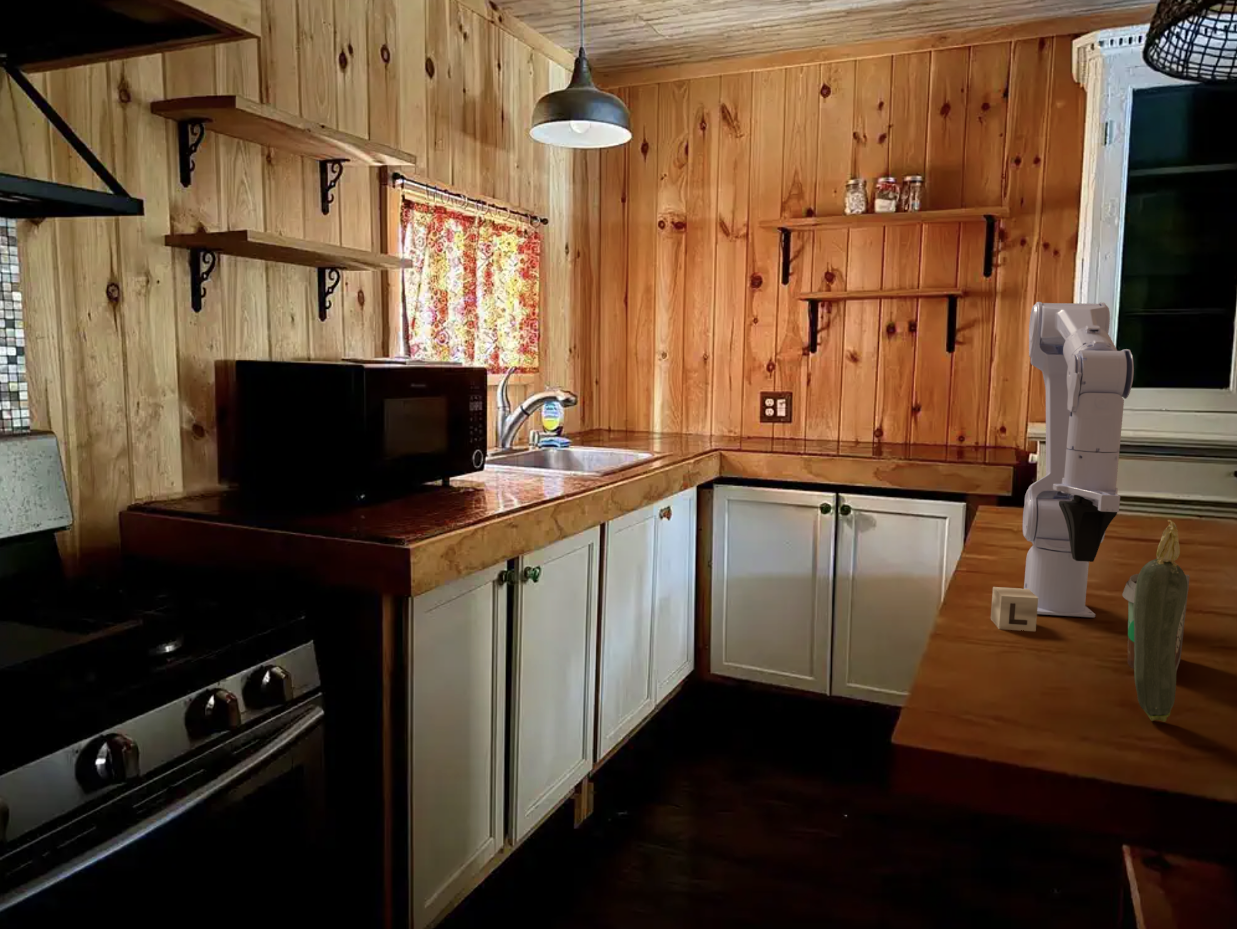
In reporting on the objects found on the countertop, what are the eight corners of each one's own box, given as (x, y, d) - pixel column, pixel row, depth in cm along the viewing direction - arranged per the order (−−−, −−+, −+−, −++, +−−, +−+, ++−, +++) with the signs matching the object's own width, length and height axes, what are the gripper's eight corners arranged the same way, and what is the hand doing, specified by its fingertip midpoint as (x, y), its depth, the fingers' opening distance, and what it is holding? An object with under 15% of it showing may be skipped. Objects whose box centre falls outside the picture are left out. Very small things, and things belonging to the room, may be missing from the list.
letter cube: (990, 619, 126) (993, 586, 125) (1025, 621, 125) (1028, 588, 124) (999, 630, 121) (1001, 596, 121) (1035, 632, 120) (1038, 598, 120)
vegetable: (1159, 734, 89) (1181, 527, 86) (1113, 718, 93) (1133, 519, 90) (1181, 723, 92) (1202, 523, 89) (1135, 708, 95) (1155, 515, 93)
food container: (1123, 645, 116) (1131, 566, 114) (1181, 655, 112) (1190, 574, 111) (1108, 673, 106) (1116, 586, 104) (1171, 685, 102) (1180, 596, 101)
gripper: (1040, 442, 121) (1032, 546, 123) (1077, 455, 107) (1067, 572, 108) (1098, 445, 120) (1089, 549, 122) (1143, 458, 106) (1132, 575, 107)
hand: (1083, 560), depth 115 cm, fingers closed
